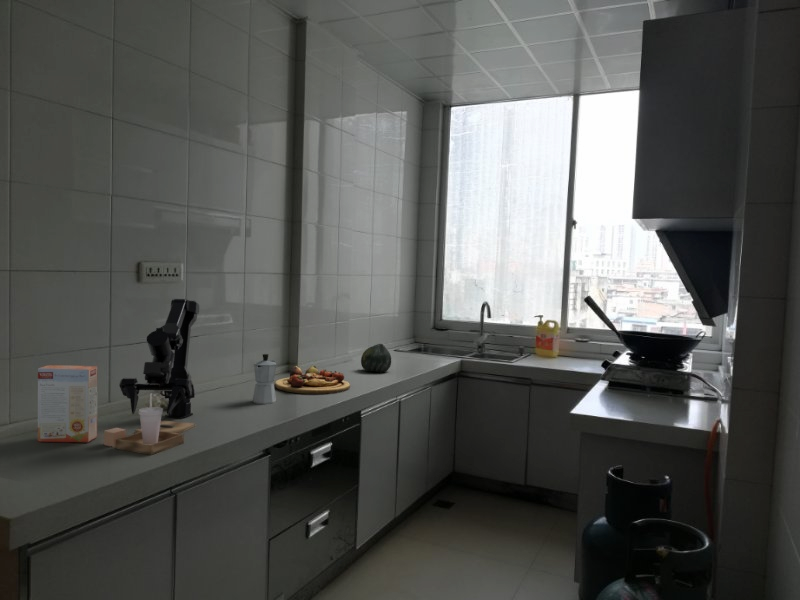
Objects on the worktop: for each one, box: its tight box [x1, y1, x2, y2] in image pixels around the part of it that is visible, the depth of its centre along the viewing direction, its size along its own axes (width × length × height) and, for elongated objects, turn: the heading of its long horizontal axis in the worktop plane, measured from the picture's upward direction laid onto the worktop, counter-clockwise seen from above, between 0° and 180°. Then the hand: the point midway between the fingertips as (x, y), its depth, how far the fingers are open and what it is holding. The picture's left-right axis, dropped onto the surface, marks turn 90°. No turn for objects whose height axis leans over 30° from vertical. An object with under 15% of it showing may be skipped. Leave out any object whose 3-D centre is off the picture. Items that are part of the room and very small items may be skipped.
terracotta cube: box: [103, 427, 127, 448], centre depth 169 cm, size 4×4×4 cm
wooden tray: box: [115, 430, 185, 456], centre depth 169 cm, size 12×12×2 cm
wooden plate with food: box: [274, 365, 351, 395], centre depth 259 cm, size 32×32×8 cm
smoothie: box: [137, 392, 164, 445], centre depth 169 cm, size 6×6×14 cm
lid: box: [134, 420, 196, 434], centre depth 186 cm, size 12×12×1 cm
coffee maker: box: [252, 353, 277, 405], centre depth 229 cm, size 15×9×18 cm, turn 168°
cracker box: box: [37, 364, 98, 443], centre depth 171 cm, size 14×6×21 cm, turn 92°
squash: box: [360, 343, 392, 373], centre depth 302 cm, size 14×15×15 cm
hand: (150, 413), depth 168 cm, fingers open, 9 cm apart
